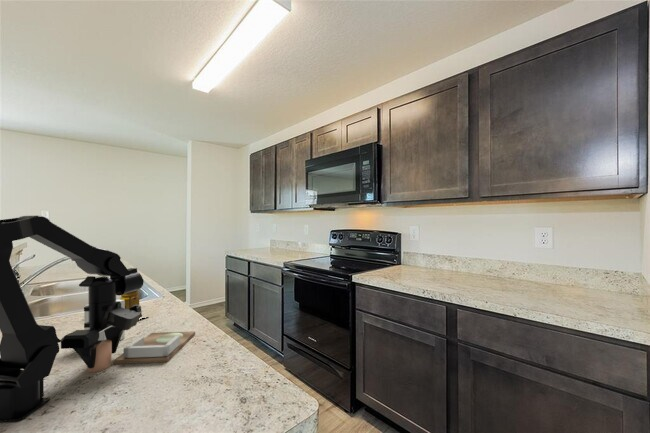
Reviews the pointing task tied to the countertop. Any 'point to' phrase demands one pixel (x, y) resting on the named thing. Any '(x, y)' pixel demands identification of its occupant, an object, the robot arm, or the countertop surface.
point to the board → (158, 339)
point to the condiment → (130, 299)
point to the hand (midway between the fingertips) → (102, 360)
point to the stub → (102, 356)
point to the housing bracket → (150, 348)
